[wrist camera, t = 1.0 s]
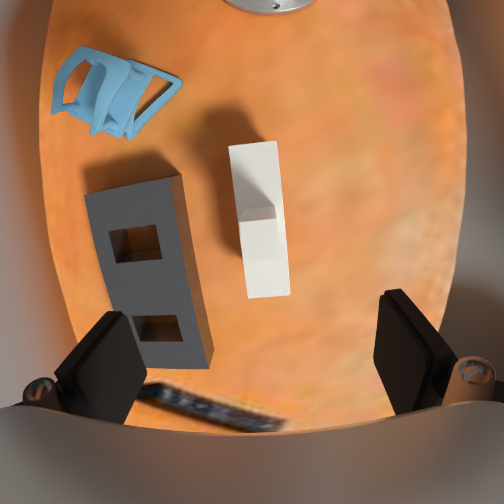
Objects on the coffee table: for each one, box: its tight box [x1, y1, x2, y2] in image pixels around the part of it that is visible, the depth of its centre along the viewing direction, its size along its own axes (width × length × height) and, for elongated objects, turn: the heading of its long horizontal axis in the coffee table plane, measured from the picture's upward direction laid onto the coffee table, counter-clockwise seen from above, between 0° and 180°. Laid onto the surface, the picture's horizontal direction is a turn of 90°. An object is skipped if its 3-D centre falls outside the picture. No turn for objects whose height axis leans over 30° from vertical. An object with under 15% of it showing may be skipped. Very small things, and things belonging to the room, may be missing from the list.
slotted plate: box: [84, 175, 214, 369], centre depth 32 cm, size 22×10×4 cm, turn 7°
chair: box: [51, 46, 183, 140], centre depth 22 cm, size 8×8×12 cm
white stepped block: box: [228, 141, 290, 298], centre depth 26 cm, size 14×4×10 cm, turn 7°
